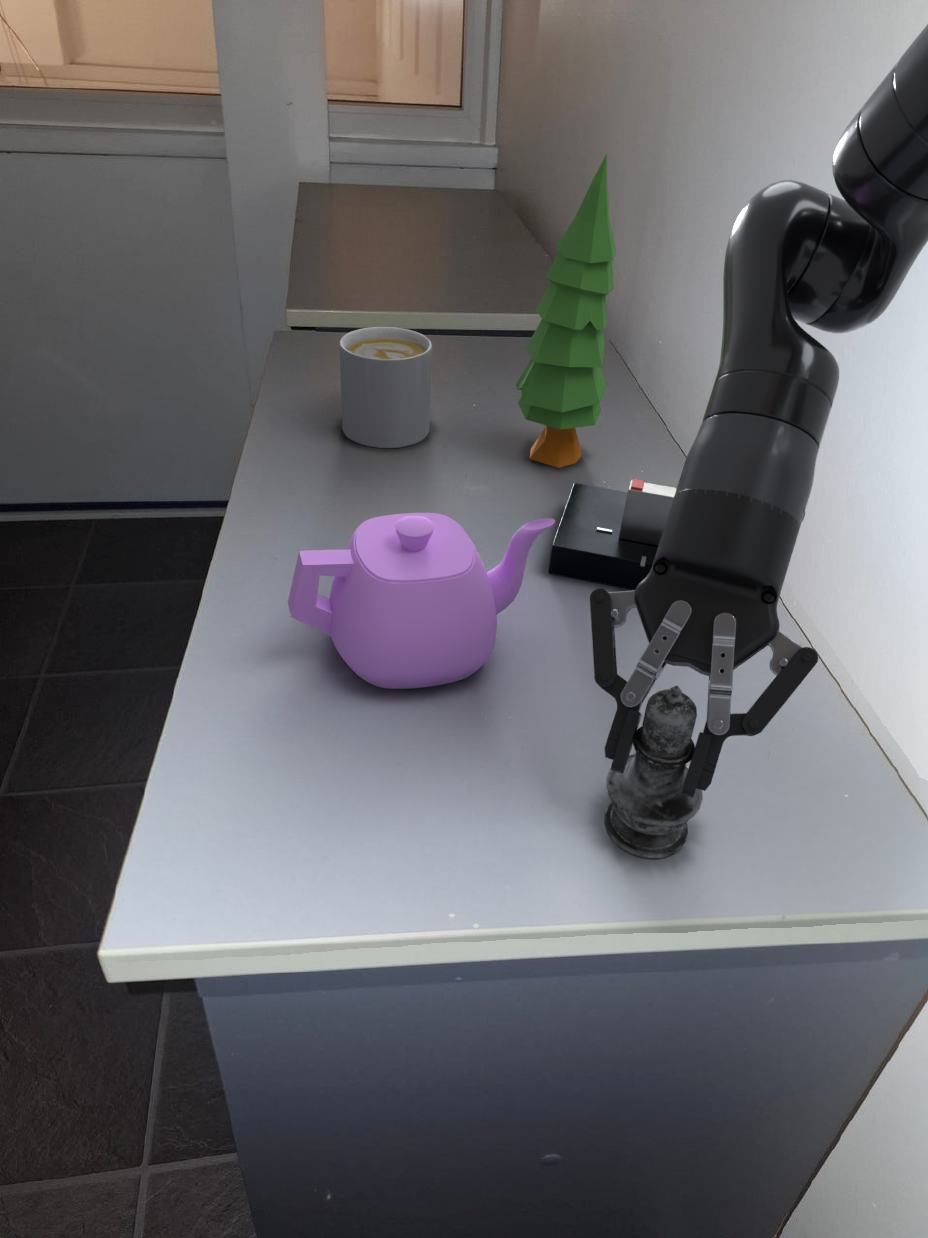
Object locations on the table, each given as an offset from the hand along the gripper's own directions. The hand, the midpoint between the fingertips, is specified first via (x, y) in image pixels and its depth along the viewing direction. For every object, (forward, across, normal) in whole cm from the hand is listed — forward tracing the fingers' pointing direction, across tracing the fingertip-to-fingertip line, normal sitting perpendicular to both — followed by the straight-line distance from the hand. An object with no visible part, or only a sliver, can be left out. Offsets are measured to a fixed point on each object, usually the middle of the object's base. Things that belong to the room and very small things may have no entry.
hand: (652, 782), depth 50 cm
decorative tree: (-30, -22, +39) cm, 53 cm away
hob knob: (-20, -7, +24) cm, 32 cm away
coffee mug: (-28, -42, +37) cm, 63 cm away
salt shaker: (+3, 0, +6) cm, 7 cm away
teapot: (-4, -21, +13) cm, 25 cm away
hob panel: (-19, -9, +28) cm, 35 cm away
